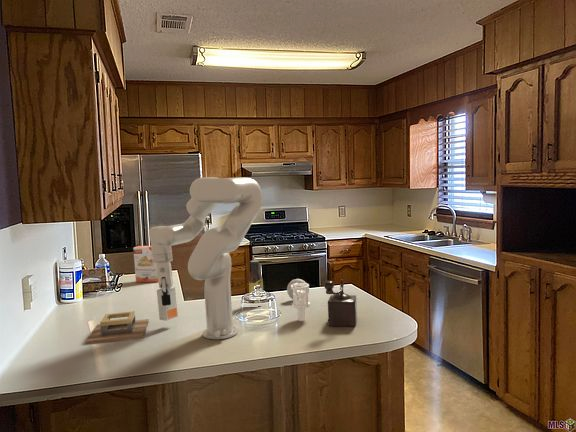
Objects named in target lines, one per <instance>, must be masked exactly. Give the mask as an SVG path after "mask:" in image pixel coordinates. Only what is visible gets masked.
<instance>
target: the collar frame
mask: <svg viewBox="0 0 576 432" xmlns="http://www.w3.org/2000/svg"><path fill="white" fill-rule="evenodd" d="M117 318H118V319H117ZM136 320H137V319H136V311H126V312H125V311H124V312H114V313H107V314H104V316H103V318H102V319H101V320H100V322H99V324H100V326H101V335H110V334H119V333H129V332H132V331H133V329H134V327H135V324H136ZM118 326H127V327H128V328H119V329H109V328H110V327H118Z"/></svg>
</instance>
